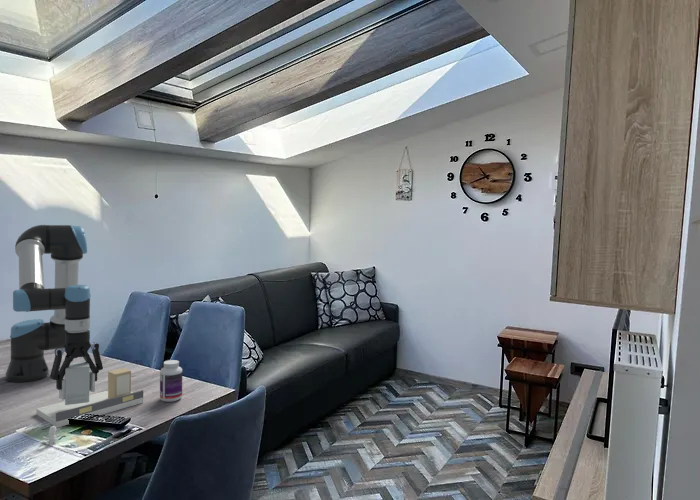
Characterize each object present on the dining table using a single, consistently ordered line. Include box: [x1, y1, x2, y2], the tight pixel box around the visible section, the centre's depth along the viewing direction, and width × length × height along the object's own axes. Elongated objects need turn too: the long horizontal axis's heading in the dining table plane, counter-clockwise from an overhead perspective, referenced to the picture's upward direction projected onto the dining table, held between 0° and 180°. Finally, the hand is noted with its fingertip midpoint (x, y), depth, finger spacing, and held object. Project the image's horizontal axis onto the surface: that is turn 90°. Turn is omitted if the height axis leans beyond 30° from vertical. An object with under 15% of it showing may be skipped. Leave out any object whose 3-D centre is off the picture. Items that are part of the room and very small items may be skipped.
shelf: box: [36, 389, 144, 429], centre depth 178 cm, size 16×30×5 cm, turn 143°
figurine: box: [41, 425, 62, 447], centre depth 150 cm, size 8×8×6 cm
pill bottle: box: [159, 359, 183, 403], centre depth 190 cm, size 8×8×14 cm
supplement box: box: [64, 360, 90, 405], centre depth 172 cm, size 7×7×13 cm
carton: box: [107, 367, 132, 399], centre depth 184 cm, size 5×6×10 cm
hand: (77, 394), depth 172 cm, fingers closed on supplement box, 9 cm apart
